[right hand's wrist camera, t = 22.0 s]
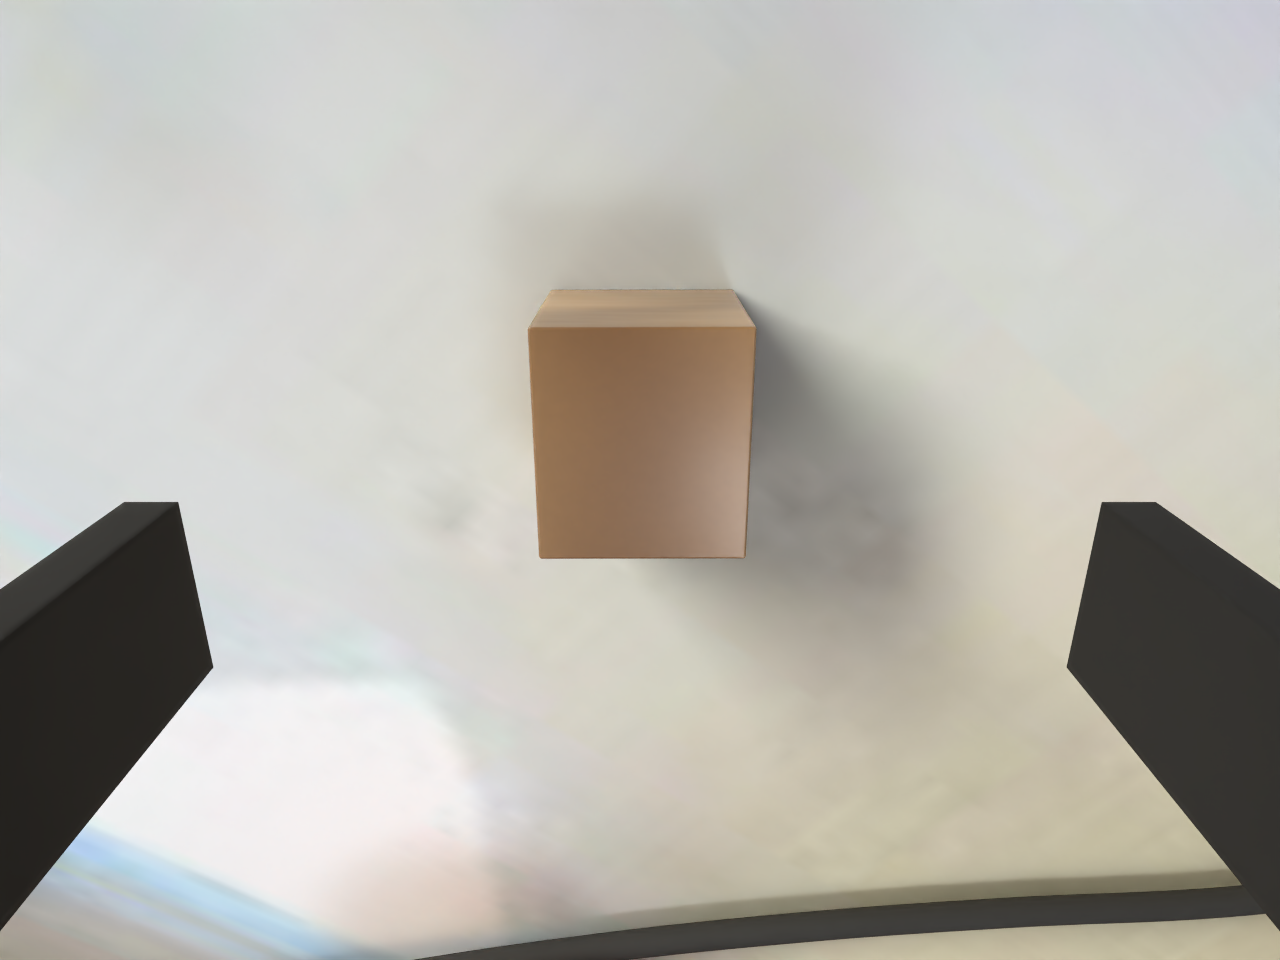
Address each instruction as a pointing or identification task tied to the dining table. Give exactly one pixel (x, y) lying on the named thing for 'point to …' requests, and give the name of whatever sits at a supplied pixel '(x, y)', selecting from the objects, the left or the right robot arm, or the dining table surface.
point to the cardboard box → (642, 423)
